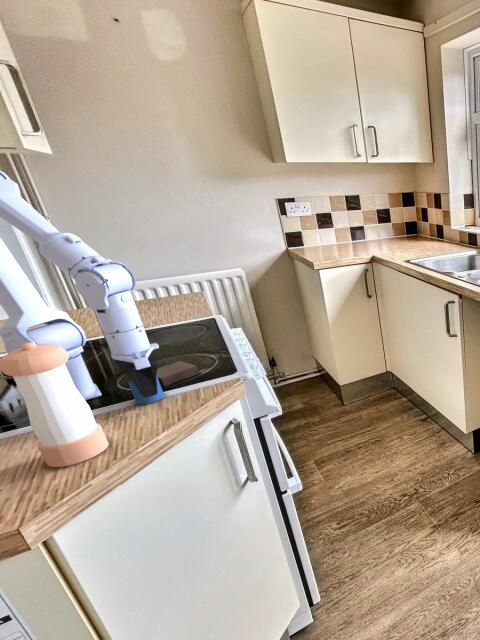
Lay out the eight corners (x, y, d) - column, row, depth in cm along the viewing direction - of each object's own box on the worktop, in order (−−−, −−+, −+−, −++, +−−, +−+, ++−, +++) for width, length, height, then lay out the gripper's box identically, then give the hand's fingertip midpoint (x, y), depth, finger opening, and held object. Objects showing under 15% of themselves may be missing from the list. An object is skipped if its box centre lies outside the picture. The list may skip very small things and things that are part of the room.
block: (164, 386, 91) (161, 378, 90) (148, 380, 94) (145, 372, 93) (199, 373, 96) (196, 365, 96) (182, 368, 99) (180, 360, 99)
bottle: (139, 406, 82) (126, 374, 80) (134, 400, 85) (121, 368, 83) (166, 398, 86) (155, 366, 83) (161, 392, 88) (149, 361, 86)
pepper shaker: (54, 473, 64) (-5, 356, 57) (41, 458, 67) (-17, 347, 60) (115, 448, 69) (68, 339, 62) (100, 435, 73) (54, 332, 66)
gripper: (159, 330, 78) (182, 394, 83) (141, 316, 87) (162, 375, 92) (109, 341, 73) (136, 409, 78) (95, 325, 82) (120, 387, 87)
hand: (147, 392), depth 85 cm, fingers closed on bottle, 4 cm apart
